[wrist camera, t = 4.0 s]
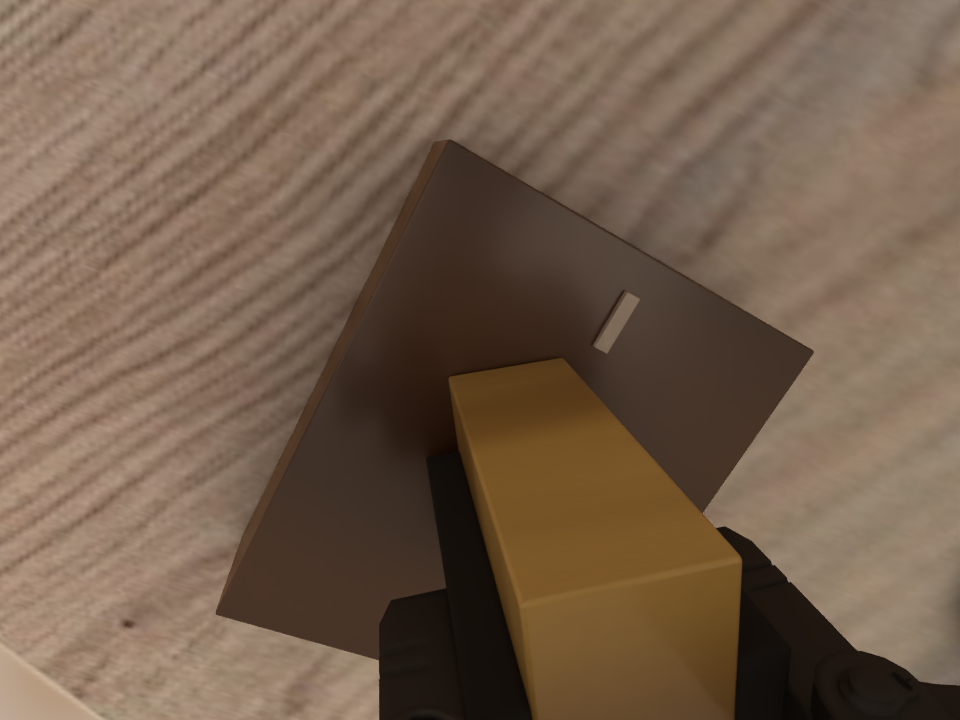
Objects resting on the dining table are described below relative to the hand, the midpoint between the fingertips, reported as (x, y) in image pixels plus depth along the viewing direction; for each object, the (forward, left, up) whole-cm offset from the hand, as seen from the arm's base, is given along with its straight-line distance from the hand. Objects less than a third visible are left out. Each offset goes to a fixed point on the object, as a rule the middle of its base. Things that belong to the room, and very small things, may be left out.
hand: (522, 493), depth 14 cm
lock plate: (0, 0, -4) cm, 4 cm away
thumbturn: (0, 0, 0) cm, 0 cm away
